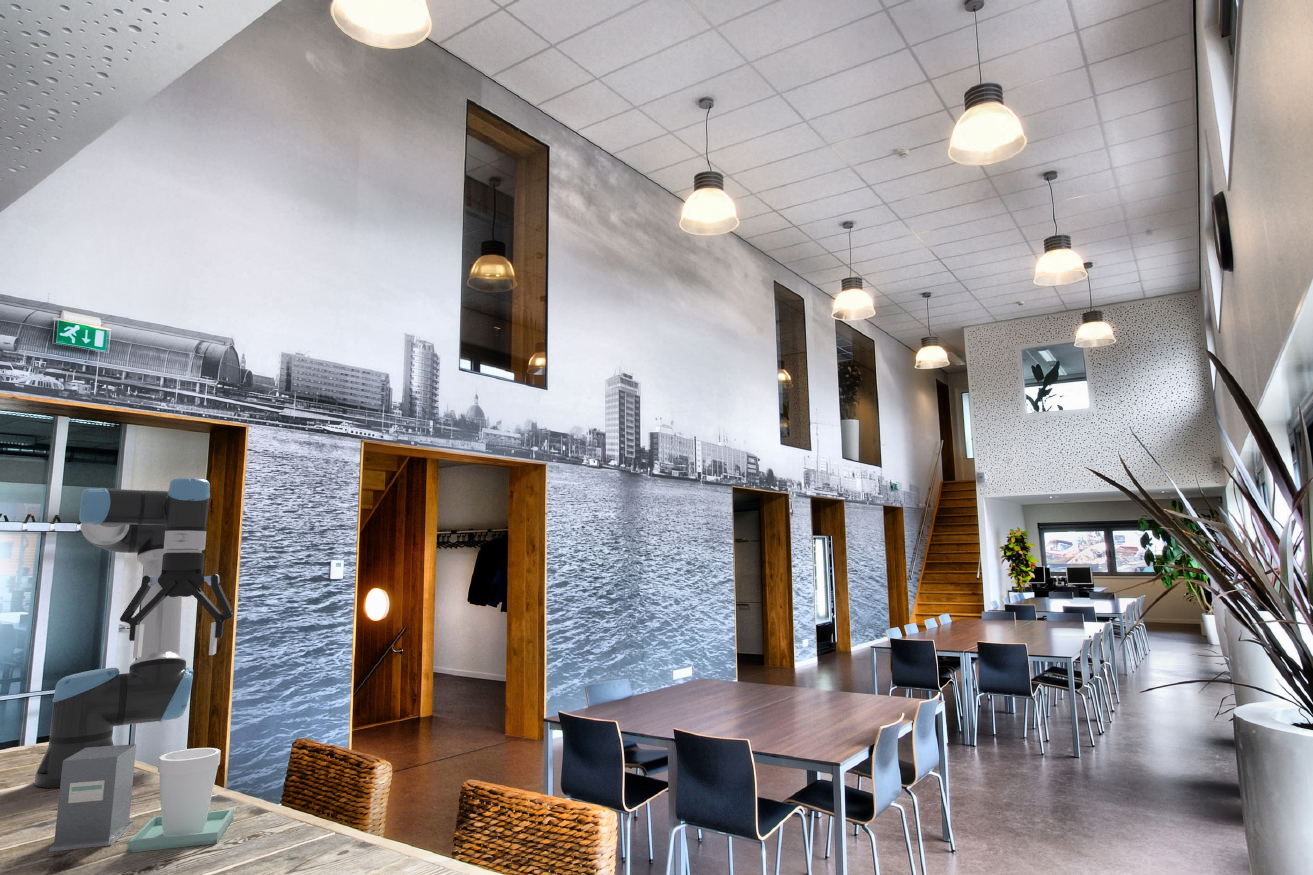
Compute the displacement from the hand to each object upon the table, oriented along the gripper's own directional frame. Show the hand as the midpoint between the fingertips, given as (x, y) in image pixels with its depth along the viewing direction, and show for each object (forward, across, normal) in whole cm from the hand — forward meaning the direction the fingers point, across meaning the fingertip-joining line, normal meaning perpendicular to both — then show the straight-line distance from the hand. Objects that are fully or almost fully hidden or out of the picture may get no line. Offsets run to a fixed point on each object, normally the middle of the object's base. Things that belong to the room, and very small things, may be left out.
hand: (175, 656), depth 158 cm
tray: (+29, +9, -22) cm, 37 cm away
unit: (+29, -6, -18) cm, 34 cm away
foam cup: (+28, +9, -22) cm, 37 cm away
